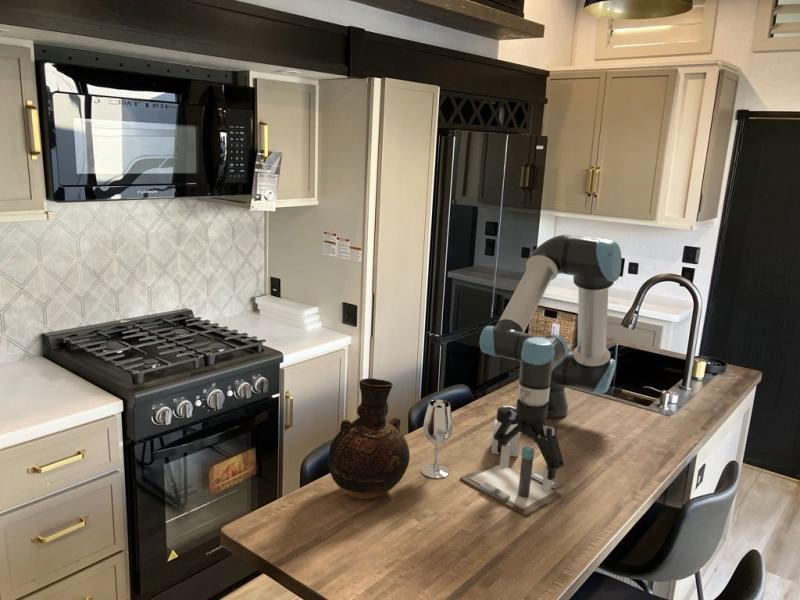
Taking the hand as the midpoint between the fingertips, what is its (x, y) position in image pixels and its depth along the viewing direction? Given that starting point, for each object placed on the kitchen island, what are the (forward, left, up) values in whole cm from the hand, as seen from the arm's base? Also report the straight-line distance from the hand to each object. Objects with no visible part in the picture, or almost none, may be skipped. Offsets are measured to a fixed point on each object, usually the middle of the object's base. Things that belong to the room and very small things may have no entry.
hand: (524, 478), depth 164 cm
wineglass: (+9, -23, -6) cm, 25 cm away
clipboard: (-1, -5, -5) cm, 7 cm away
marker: (0, 0, -5) cm, 5 cm away
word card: (-12, -2, -5) cm, 13 cm away
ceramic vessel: (+30, -26, -6) cm, 40 cm away
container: (-17, -20, -6) cm, 27 cm away
